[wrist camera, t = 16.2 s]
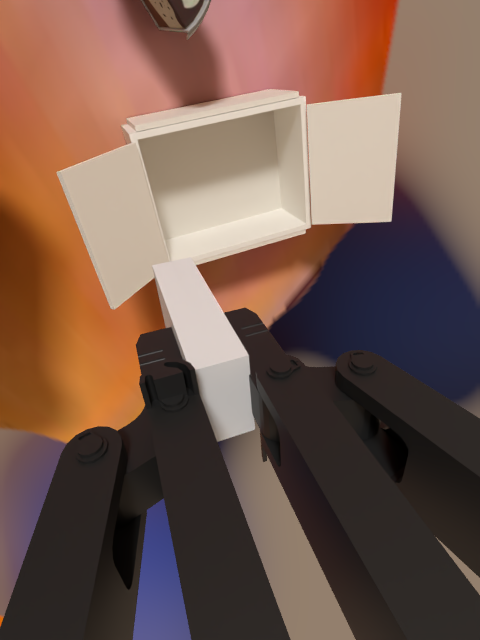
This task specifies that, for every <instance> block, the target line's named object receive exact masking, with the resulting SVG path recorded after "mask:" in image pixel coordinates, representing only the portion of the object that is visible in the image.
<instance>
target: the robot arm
mask: <svg viewBox="0 0 480 640" xmlns="http://www.w3.org/2000/svg"><path fill="white" fill-rule="evenodd" d="M152 268H153V272H154V277H155V281H156V286H157V290H158V295H159V299H160V304H161V308H162V313H163V317H164V322H165V326H166V328H165V329H161V330H157V331H153V332H149V333H145V334H141V335H140V337H139V339H138V342H137V344H136V348H137V354H138V359H139V364H140V369H141V374H142V375H141V376H140V383H139V385H140V388H141V392H142V395H143V398H144V402H145V407H144V409H143V411H142V412H141V414H140V415H139V416H138V417H137V418H136V419H135V420H134V421H133V422H131V423H130V424H128V425H127V426H125V427H123V428H122V429H120V430H118V431H117V430H115V429H112V428H110V427H99V426H98V427H94V428H90V429H87V430H85V431H83V432H81V433H79V434H78V435H76V436H75V437H74V438H73V439H72V440H70V441H69V442H68V443H67V445H66V446H65V448H64V450H63V451H62V453H61V456H60V459H59V462H58V465H57V467H56V470H55V473H54V476H53V479H52V482H51V484H50V487H49V491H48V493H47V496H46V499H45V502H44V504H43V508H42V510H41V513H40V516H39V519H38V522H37V524H36V528H35V530H34V533H33V536H32V539H31V542H30V545H29V547H28V550H27V553H26V556H25V559H24V561H23V564H22V567H21V570H20V573H19V576H18V579H17V582H16V585H15V587H14V590H13V593H12V596H11V599H10V602H9V604H8V607H7V610H6V613H5V616H4V618H3V621H2V624H1V627H0V640H132V639H133V630H134V622H135V613H136V604H137V595H138V587H139V577H140V568H141V560H142V550H143V542H144V533H145V524H146V516H147V509H148V508H150V507H152V506H153V505H154V504H156V503H157V502H159V501H160V500H162V499H163V498H164V500H165V506H166V510H167V516H168V521H169V526H170V531H171V537H172V541H173V547H174V552H175V556H176V562H177V568H178V572H179V577H180V583H181V588H182V593H183V598H184V604H185V609H186V614H187V619H188V624H189V629H190V634H191V639H192V640H290V637H289V635H288V632H287V629H286V626H285V624H284V621H283V618H282V616H281V613H280V610H279V608H278V605H277V602H276V599H275V597H274V594H273V591H272V589H271V586H270V583H269V580H268V578H267V575H266V572H265V570H264V567H263V564H262V561H261V559H260V556H259V553H258V551H257V548H256V545H255V542H254V540H253V537H252V534H251V532H250V529H249V527H248V524H247V521H246V518H245V515H244V513H243V510H242V508H241V505H240V502H239V499H238V496H237V494H236V491H235V488H234V486H233V483H232V481H231V478H230V475H229V472H228V469H227V467H226V464H225V461H224V459H223V456H222V453H221V451H220V448H219V445H218V443H217V442H218V441H221V440H224V439H227V438H230V437H234V436H236V435H240V434H243V433H246V432H249V431H252V430H255V423H254V418H255V420H256V422H257V424H258V426H259V428H260V437H261V450H262V457H263V462H265V461H267V456H268V458H269V459H270V462H271V464H272V466H273V468H274V470H275V472H276V474H277V476H278V479H279V480H280V483H281V485H282V487H283V489H284V491H285V493H286V495H287V497H288V499H289V501H290V503H291V506H292V508H293V510H294V512H295V514H296V516H297V518H298V520H299V522H300V524H301V526H302V529H303V530H304V533H305V535H306V537H307V539H308V541H309V543H310V545H311V547H312V549H313V551H314V553H315V555H316V558H317V559H318V562H319V564H320V566H321V568H322V570H323V572H324V574H325V576H326V578H327V580H328V583H329V585H330V587H331V589H332V591H333V593H334V595H335V597H336V599H337V601H338V603H339V606H340V607H341V610H342V612H343V614H344V616H345V618H346V620H347V622H348V624H349V626H350V628H351V630H352V633H353V635H354V637H355V639H356V640H480V595H479V594H478V592H477V591H476V590H475V588H474V587H473V586H472V585H471V583H470V582H469V581H468V579H467V578H466V577H465V575H464V574H463V573H462V571H461V570H460V569H459V568H458V566H457V565H456V564H455V562H454V561H453V559H452V558H451V557H450V556H449V554H448V553H447V552H446V550H445V549H444V548H443V546H442V545H441V544H440V543H439V541H438V540H437V538H438V539H439V540H440V541H441V542H442V543H443V544H444V545H445V546H446V547H447V548H449V549H450V550H451V551H452V552H453V553H454V554H455V555H456V556H457V557H458V558H459V559H460V560H461V561H462V562H464V563H465V564H466V565H467V566H468V567H469V568H470V569H471V570H472V571H473V572H474V573H475V574H476V575H478V576H479V577H480V418H478V417H476V416H475V415H473V414H472V413H470V412H468V411H467V410H465V409H464V408H462V407H460V406H459V405H457V404H456V403H454V402H452V401H451V400H449V399H448V398H446V397H444V396H443V395H441V394H440V393H438V392H437V391H435V390H433V389H432V388H430V387H429V386H427V385H425V384H424V383H422V382H421V381H419V380H417V379H416V378H414V377H413V376H411V375H409V374H408V373H406V372H405V371H403V370H401V369H400V368H398V367H397V366H395V365H393V364H392V363H390V362H388V361H387V360H385V359H384V358H382V357H381V356H379V355H377V354H374V353H372V352H368V351H363V350H356V351H349V352H346V353H343V354H342V355H341V356H340V357H338V359H337V362H336V367H307V366H305V365H304V363H302V362H301V361H300V360H299V359H298V358H295V357H293V356H290V355H286V354H285V353H284V351H283V350H282V348H281V347H280V346H279V344H278V343H277V342H276V340H275V339H274V337H273V336H272V335H271V333H270V332H269V331H268V329H267V328H266V326H265V325H264V324H263V322H262V321H261V319H260V318H259V317H258V315H257V314H256V313H254V312H252V311H250V310H249V309H247V308H242V309H238V310H234V311H230V312H225V313H224V312H223V311H222V309H221V307H220V306H219V304H218V302H217V301H216V299H215V297H214V296H213V294H212V292H211V290H210V289H209V287H208V285H207V284H206V282H205V280H204V279H203V277H202V275H201V274H200V272H199V270H198V268H197V267H196V265H195V263H194V262H193V260H192V258H191V257H189V258H184V259H180V260H175V261H170V262H165V263H160V264H156V265H152ZM436 537H437V538H436Z"/></svg>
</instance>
